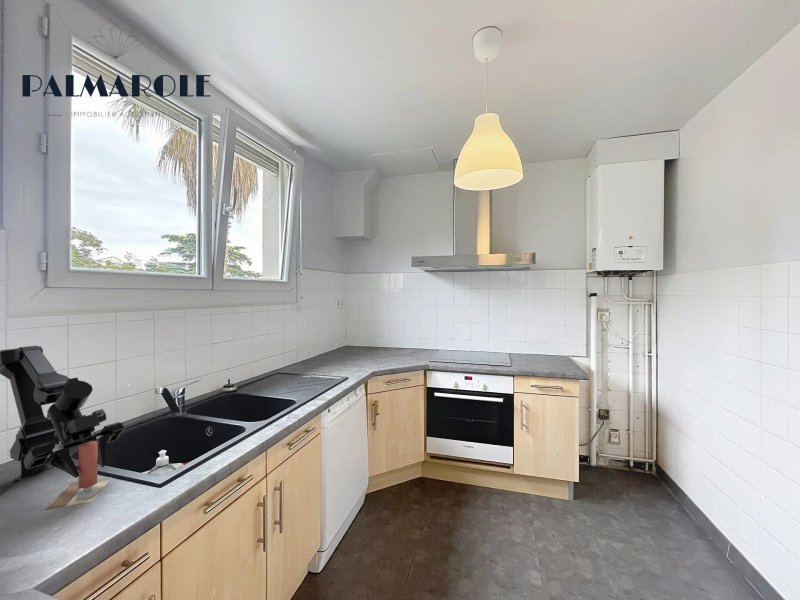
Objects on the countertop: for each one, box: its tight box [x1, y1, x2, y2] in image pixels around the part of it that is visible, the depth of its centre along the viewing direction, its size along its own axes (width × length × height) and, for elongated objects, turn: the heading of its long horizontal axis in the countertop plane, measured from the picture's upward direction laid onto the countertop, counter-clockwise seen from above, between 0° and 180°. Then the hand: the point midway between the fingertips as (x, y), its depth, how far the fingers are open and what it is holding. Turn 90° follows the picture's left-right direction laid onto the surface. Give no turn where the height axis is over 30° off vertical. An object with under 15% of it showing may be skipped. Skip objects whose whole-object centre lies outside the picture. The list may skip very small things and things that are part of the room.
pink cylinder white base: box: [77, 441, 99, 500], centre depth 86 cm, size 4×4×13 cm
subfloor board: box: [44, 476, 112, 511], centre depth 88 cm, size 12×9×1 cm
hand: (91, 471), depth 86 cm, fingers open, 5 cm apart
